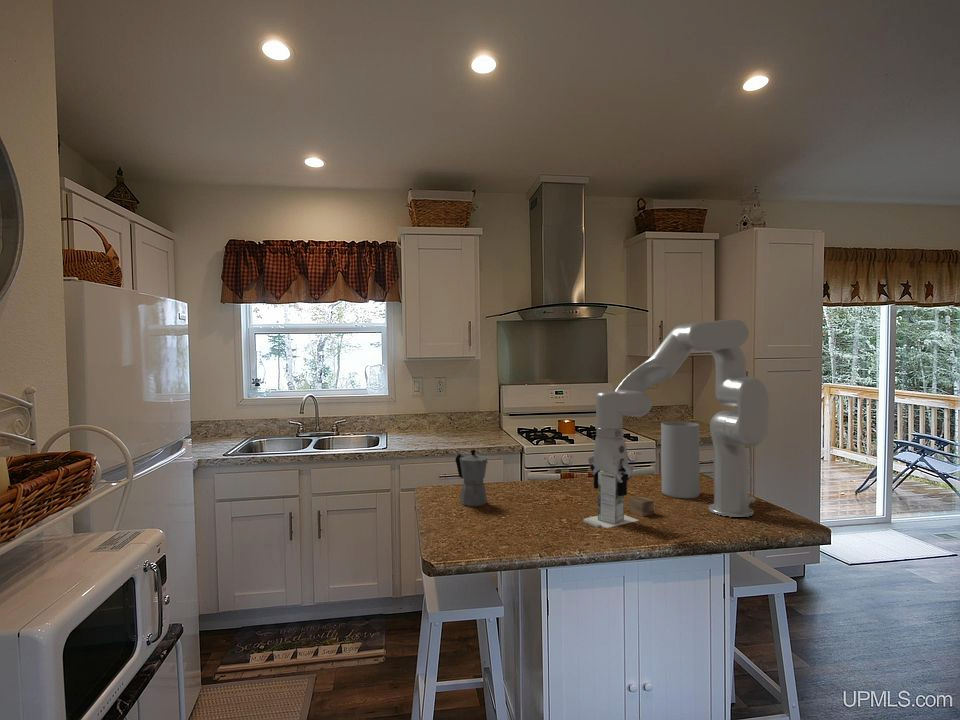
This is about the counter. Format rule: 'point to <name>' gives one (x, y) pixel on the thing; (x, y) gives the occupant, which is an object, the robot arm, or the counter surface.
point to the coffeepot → (472, 478)
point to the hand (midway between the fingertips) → (610, 491)
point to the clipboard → (598, 523)
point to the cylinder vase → (680, 459)
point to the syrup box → (609, 498)
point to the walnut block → (642, 506)
